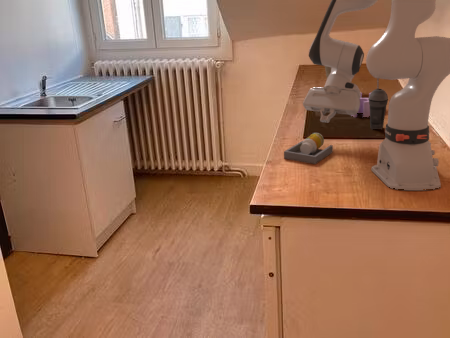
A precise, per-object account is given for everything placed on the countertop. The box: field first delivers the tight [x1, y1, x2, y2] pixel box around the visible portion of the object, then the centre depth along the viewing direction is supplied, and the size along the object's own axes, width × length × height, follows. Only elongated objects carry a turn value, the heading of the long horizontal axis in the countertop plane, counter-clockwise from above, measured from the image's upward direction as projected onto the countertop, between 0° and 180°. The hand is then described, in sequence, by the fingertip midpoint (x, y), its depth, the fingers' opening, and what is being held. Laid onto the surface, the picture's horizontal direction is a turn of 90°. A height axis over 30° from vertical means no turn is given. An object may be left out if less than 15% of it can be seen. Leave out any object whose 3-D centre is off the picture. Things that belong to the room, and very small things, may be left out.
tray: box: [283, 140, 334, 165], centre depth 158 cm, size 13×12×2 cm
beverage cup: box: [368, 78, 389, 130], centre depth 179 cm, size 7×7×20 cm
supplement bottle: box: [300, 132, 325, 155], centre depth 159 cm, size 5×5×10 cm
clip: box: [350, 92, 371, 118], centre depth 206 cm, size 20×12×7 cm, turn 157°
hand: (324, 121), depth 164 cm, fingers closed
